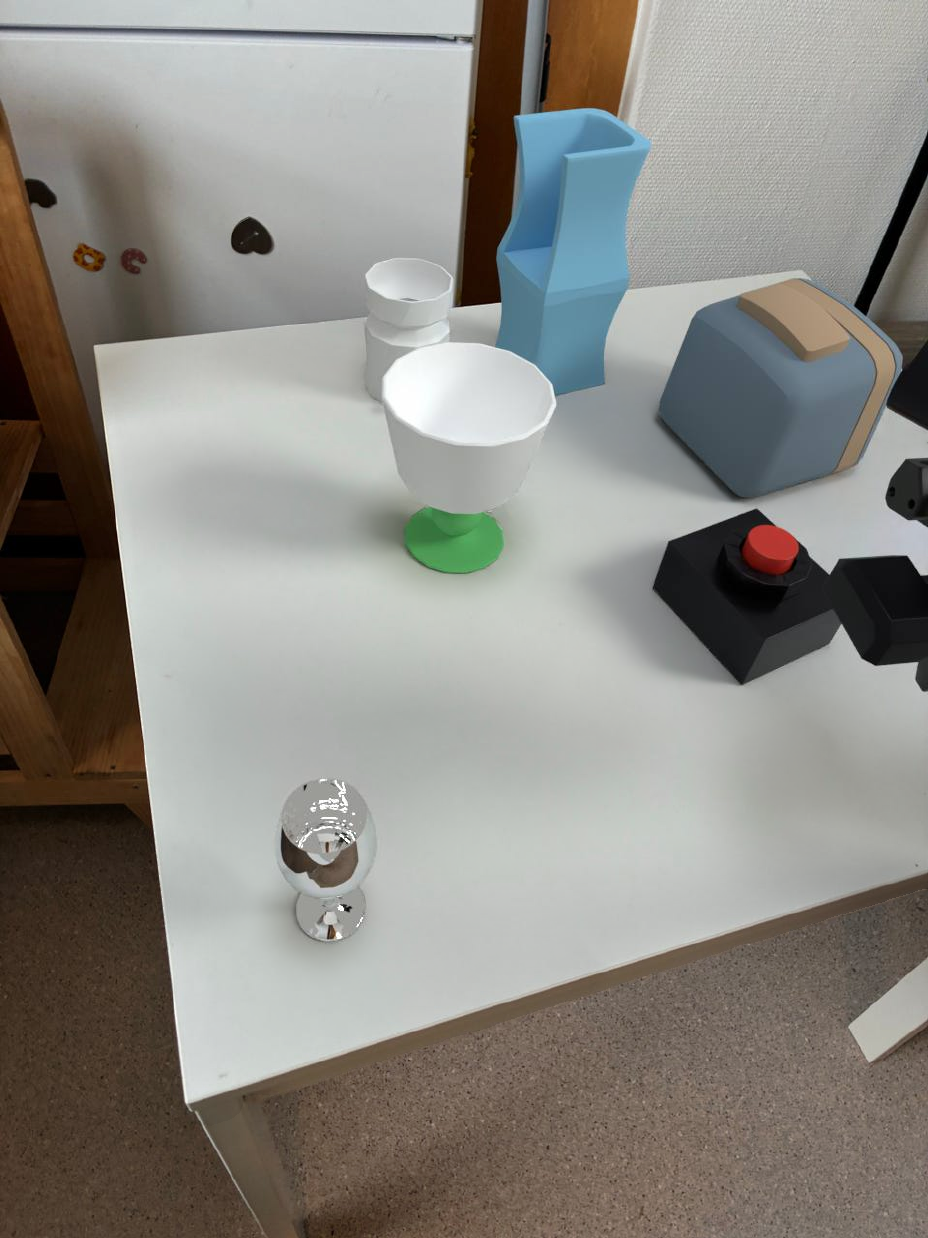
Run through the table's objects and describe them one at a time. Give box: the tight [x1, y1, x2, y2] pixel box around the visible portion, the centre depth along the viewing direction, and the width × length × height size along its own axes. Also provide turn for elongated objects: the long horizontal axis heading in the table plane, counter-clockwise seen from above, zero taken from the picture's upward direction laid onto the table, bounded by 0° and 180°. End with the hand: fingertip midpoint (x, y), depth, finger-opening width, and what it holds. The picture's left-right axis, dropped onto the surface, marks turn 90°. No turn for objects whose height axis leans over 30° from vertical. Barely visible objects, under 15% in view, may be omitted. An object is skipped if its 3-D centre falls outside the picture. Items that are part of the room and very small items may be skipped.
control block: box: [651, 507, 842, 686], centre depth 75 cm, size 12×10×8 cm
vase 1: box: [363, 257, 454, 404], centre depth 92 cm, size 9×9×12 cm
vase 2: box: [494, 107, 652, 397], centre depth 91 cm, size 10×10×25 cm
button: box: [742, 525, 799, 575], centre depth 72 cm, size 4×4×2 cm
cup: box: [381, 341, 557, 574], centre depth 76 cm, size 14×14×16 cm
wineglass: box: [274, 778, 378, 943], centre depth 53 cm, size 6×6×12 cm
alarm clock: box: [658, 277, 904, 498], centre depth 89 cm, size 16×16×16 cm
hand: (923, 685), depth 57 cm, fingers closed
